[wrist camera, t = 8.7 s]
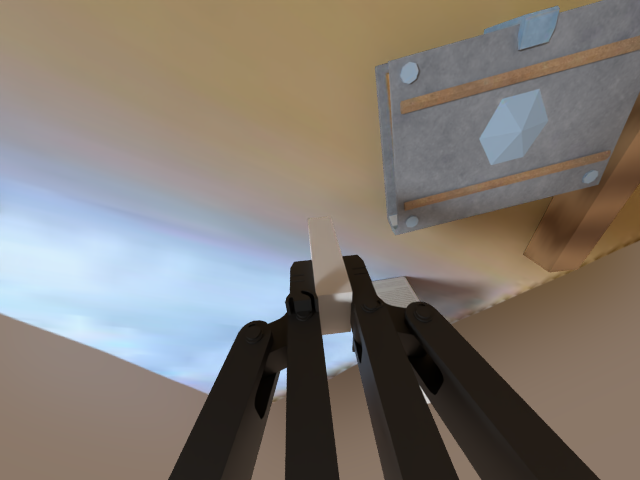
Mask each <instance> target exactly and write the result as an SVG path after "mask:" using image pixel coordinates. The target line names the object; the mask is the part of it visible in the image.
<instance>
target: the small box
mask: <svg viewBox="0 0 640 480" xmlns="http://www.w3.org/2000/svg"><path fill="white" fill-rule="evenodd" d="M372 284H373V286H374V289H375V291H376V294H377V295H378V297H379V298H381V299H382V300H383V301H384V302H385V303H387V304H389V305H392V306H397V307H403V308H407V306H408V305H409V304H410V303H412V302H417V301H419V302H420V300H419V298H418V297H417V295H416V294H415V292H414V290H413V289H412V287H411V286H410V284H409V282H408V281H407V279H406V278H405V277H397V278H391V279H385V280H378V281H372ZM420 388H421V387H420ZM421 390H422V389H421ZM422 393H423V395H424V397H425V400H426V402H427V403H431V402H430V401H429V399H428V398H427V396H426V395H425V393H424V392H423V390H422Z"/></svg>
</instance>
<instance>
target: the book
mask: <svg viewBox="0 0 640 480" xmlns="http://www.w3.org/2000/svg"><path fill="white" fill-rule="evenodd" d="M559 10H560V8H559V7H558V6H555V7H551V8H548V9H544V10H541V11H537V12H534V13H530V14H527V15H523V16H521V17H518V18H515V19H512V20H509V21H507V22H504V23H501V24H498V25H495V26H493V27H490V28H487V29H484V34H483V35H480V36H476V37H473V38H469V39H466V40H462V41H459V42H455V43H452V44H448V45H445V46H441V47H438V48H434V49H431V50H427V51H424V52H420V53H416V54H413V55H409V56H406V57H402V58H399V59H395V60H392V61H389V62H388V63H386V64H382V65H379V66H376V67H375V73H376V85H377V97H378V109H379V121H380V133H381V145H382V157H383V169H384V181H385V193H386V206H387V218H388V221H389V224H390V226H391V229H392V231H393V232H394V234H395V235H398V234H403V233H407V232H411V231H415V230H419V229H423V228H427V227H431V226H435V225H439V224H443V223H447V222H451V221H455V220H459V219H463V218H467V217H471V216H475V215H479V214H483V213H487V212H491V211H495V210H499V209H503V208H507V207H511V206H515V205H519V204H523V203H527V202H531V201H535V200H539V199H543V198H547V197H551V196H555V195H559V194H563V193H567V192H571V191H575V190H579V189H583V188H587V187H591V186H595V185H598V184H599V182H600V180H601V177H602V175H603V173H604V171H605V168H606V166H607V164H608V162H609V159H610V157H611V155H612V153H613V150H614V148H615V146H616V144H617V141H618V139H619V137H620V135H621V132H622V130H623V128H624V126H625V123H626V121H627V119H628V117H629V115H630V112H631V110H632V108H633V106H634V103H635V101H636V99H637V97H638V94H639V92H640V0H603V1H600V2H596V3H593V4H589V5H585V6H582V7H578V8H575V9H571V10H568V11H564V12H561V13H559Z"/></svg>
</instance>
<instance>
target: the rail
mask: <svg viewBox="0 0 640 480" xmlns="http://www.w3.org/2000/svg"><path fill="white" fill-rule="evenodd" d="M639 183H640V92H639V94H638V97H637V99H636V101H635V103H634V106H633V108H632V110H631V112H630V115H629V117H628V119H627V121H626V123H625V126H624V128H623V130H622V132H621V135H620V137H619V139H618V141H617V144H616V146H615V148H614V150H613V153H612V155H611V157H610V159H609V162H608V164H607V166H606V168H605V171H604V173H603V175H602V177H601V180H600V182H599V184H598V185H595V186H591V187H587V188H583V189H579V190H575V191H571V192H567V193H563V194H559V195H555V196H554V197H553V199H552V201H551V203H550V205H549V206H548V208H547V210H546V212H545V214H544V216H543V218H542V220H541V222H540V223H539V225H538V227H537V229H536V231H535V233H534V235H533V237H532V239H531V241H530V242H529V244H528V246H527V248H526V250H525V252H524V254H523V255H525V256H526V257H528V258H529V259H531V260H532V261H534V262H535V263H537V264H538V265H539V266H541V267H542V268H544V269H545V270H547V271H548V272H557V271H566V270H576V269H579V267H580V266H581V264H582V263H583V262H584V260H585V259H586V257H587V256H588V255H589V253H590V252H591V250H592V249H593V248H594V246H595V245H596V243H597V242H598V241H599V239H600V238H601V236H602V235H603V234H604V232H605V231H606V230H607V228H608V227H609V225H610V224H611V223H612V221H613V220H614V218H615V217H616V216H617V214H618V213H619V211H620V210H621V209H622V207H623V206H624V204H625V203H626V202H627V200H628V199H629V197H630V196H631V195H632V193H633V192H634V190H635V189H636V188H637V186H638V185H639Z"/></svg>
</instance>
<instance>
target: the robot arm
mask: <svg viewBox="0 0 640 480" xmlns="http://www.w3.org/2000/svg"><path fill="white" fill-rule="evenodd" d="M308 228H309V239H310V250H311V260H308V261H298V262H294V263H293V265H292V266H291V268H290V294H289V295H288V296H287V298H286V301H285V304H286V308H287V313H286V314H285V315H284V316H283V317H282V318H280V319H278V320H276V321H274V322H271V323H269V324H267V323H266V322H264V321H261V320H258V321H252V322H250V323H247V324H246V325H245V326H244V327H242V329H241V330H240V331H239V333H238V335H237V337H236V339H235V341H234V343H233V345H232V347H231V349H230V352H229V354H228V356H227V358H226V360H225V362H224V364H223V366H222V368H221V370H220V372H219V375H218V377H217V379H216V381H215V383H214V385H213V387H212V389H211V391H210V393H209V395H208V398H207V400H206V402H205V404H204V406H203V408H202V410H201V412H200V414H199V416H198V419H197V421H196V423H195V425H194V427H193V429H192V431H191V433H190V435H189V437H188V439H187V442H186V444H185V446H184V448H183V450H182V452H181V454H180V456H179V459H178V460H177V463H176V465H175V467H174V469H173V471H172V473H171V475H170V477H169V479H168V480H251V477H252V474H253V470H254V466H255V462H256V459H257V455H258V451H259V447H260V444H261V440H262V437H263V433H264V429H265V426H266V422H267V418H268V414H269V411H270V407H271V403H272V400H273V396H274V392H275V389H276V385H277V381H278V378H279V374H280V371H281V370H283V369H285V368H287V398H286V402H287V403H286V458H285V480H339V472H338V463H337V455H336V447H335V439H334V431H333V423H332V415H331V405H330V397H329V389H328V381H327V372H326V364H325V356H324V348H323V339H322V335H326V334H334V333H342V332H351V328H352V332H353V347H352V350H353V352H355V353H356V358H357V362H358V366H359V371H360V375H361V379H362V383H363V388H364V392H365V397H366V401H367V405H368V409H369V414H370V418H371V423H372V427H373V431H374V435H375V440H376V444H377V448H378V453H379V457H380V461H381V466H382V470H383V474H384V479H385V480H459V478H458V476H457V474H456V471H455V469H454V466H453V464H452V462H451V459H450V457H449V454H448V452H447V450H446V447H445V445H444V443H443V440H442V438H441V435H440V433H439V431H438V428H437V426H436V424H435V421H434V419H433V416H432V414H431V412H430V409H429V407H428V405H427V402H426V400H425V397H424V395H423V393H422V390H423V392H424V393H425V395H426V396H427V398H428V399H429V401H430V402H431V404H432V405H433V407H434V408H435V410H436V411H437V413H438V414H439V416H440V417H441V419H442V420H443V422H444V423H445V425H446V426H447V428H448V429H449V431H450V433H451V434H452V435H453V437H454V439H455V440H456V442H457V443H458V445H459V446H460V448H461V449H462V450H463V452H464V454H465V455H466V457H467V458H468V460H469V461H470V463H471V464H472V466H473V467H474V469H475V470H476V472H477V474H478V475H479V477H480V478H481V480H600V479H599V478H598V477H597V476H596V475H595V474H594V473H593V472H592V471H591V470H590V469H589V467H588V466H586V464H585V463H584V462H583V461H582V460H581V459H580V458H579V457H578V456H577V455H576V454H575V453H574V452H573V451H572V450H571V449H570V448H569V447H568V446H567V445H566V444H565V443H564V442H563V441H562V439H561V438H560V437H559V436H558V435H557V434H556V433H555V432H554V431H553V430H552V429H551V428H550V427H549V426H548V425H547V424H546V423H545V422H544V421H543V420H542V419H541V418H540V417H539V416H538V415H537V414H536V412H535V411H534V410H533V409H532V408H531V407H530V406H529V405H528V404H527V403H526V402H525V401H524V400H523V399H522V398H521V397H520V396H519V395H518V394H517V393H516V392H515V391H514V390H513V389H512V388H511V387H510V385H509V384H508V383H507V382H506V381H505V380H504V379H503V378H502V377H501V376H500V375H499V374H498V373H497V372H496V371H495V370H494V369H493V368H492V367H491V366H490V365H489V364H488V363H487V362H486V361H485V359H484V358H482V356H481V355H480V354H479V353H478V352H477V351H476V350H475V349H474V348H473V347H472V346H471V345H470V344H469V343H468V342H467V341H466V340H465V339H464V338H463V337H462V336H461V335H460V334H459V333H458V331H457V330H456V329H455V328H454V327H453V326H452V325H451V324H450V323H449V322H448V321H447V320H446V319H445V318H444V317H443V316H442V315H441V314H440V313H439V312H438V311H437V310H436V309H435V308H434V307H433V306H431V305H429V304H427V303H425V302H419V301H417V302H412V303H410V304H409V305H408V306H407V308H403V307H397V306H392V305H389V304H387V303H385V302H384V301H383V300H382V299H381V298H379V297H378V295H377V294H376V291H375V289H374V286H373V284H372V281H371V279H370V276H369V274H368V271H367V269H366V266H365V264H364V261H363V260H362V259H361V258H360V257H359V256H358V255H351V256H342V254H341V251H340V247H339V244H338V240H337V237H336V233H335V230H334V226H333V223H332V220H331V217H320V218H309V219H308ZM420 387H421V388H420ZM421 389H422V390H421Z"/></svg>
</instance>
